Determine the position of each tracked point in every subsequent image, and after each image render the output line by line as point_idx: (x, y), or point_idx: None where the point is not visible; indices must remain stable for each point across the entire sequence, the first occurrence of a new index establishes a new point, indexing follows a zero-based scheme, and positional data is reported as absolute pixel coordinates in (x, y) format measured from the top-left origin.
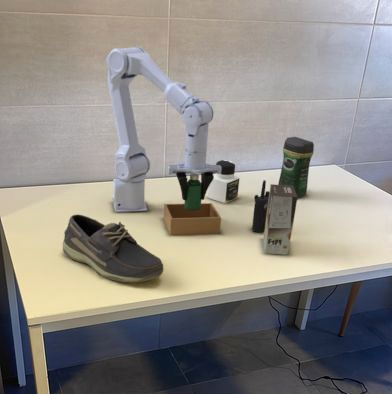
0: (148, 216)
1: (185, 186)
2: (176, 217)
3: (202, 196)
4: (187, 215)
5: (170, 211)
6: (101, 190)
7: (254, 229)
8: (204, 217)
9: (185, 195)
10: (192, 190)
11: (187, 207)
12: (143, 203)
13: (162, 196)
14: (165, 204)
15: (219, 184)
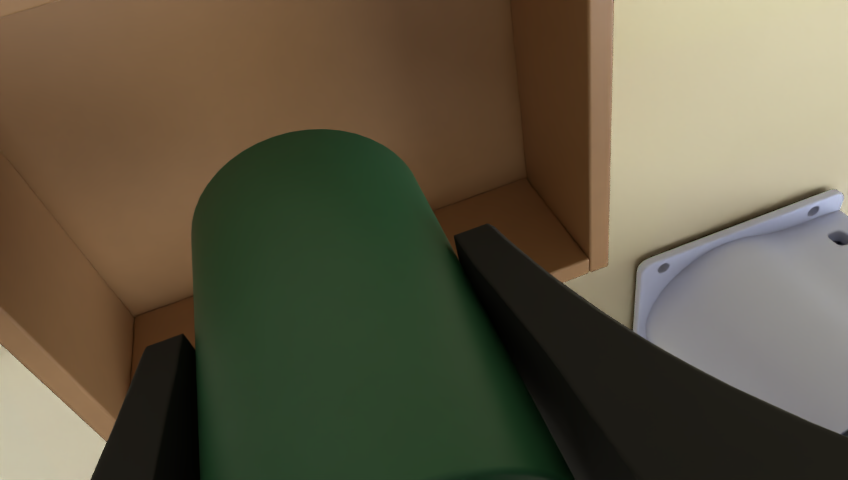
0: (641, 190)
1: (616, 410)
2: (437, 212)
3: (168, 378)
4: None
5: (515, 228)
6: None
7: None
8: (179, 297)
9: (500, 275)
10: (410, 379)
11: (387, 160)
12: (674, 315)
13: None
14: (597, 259)
15: None
